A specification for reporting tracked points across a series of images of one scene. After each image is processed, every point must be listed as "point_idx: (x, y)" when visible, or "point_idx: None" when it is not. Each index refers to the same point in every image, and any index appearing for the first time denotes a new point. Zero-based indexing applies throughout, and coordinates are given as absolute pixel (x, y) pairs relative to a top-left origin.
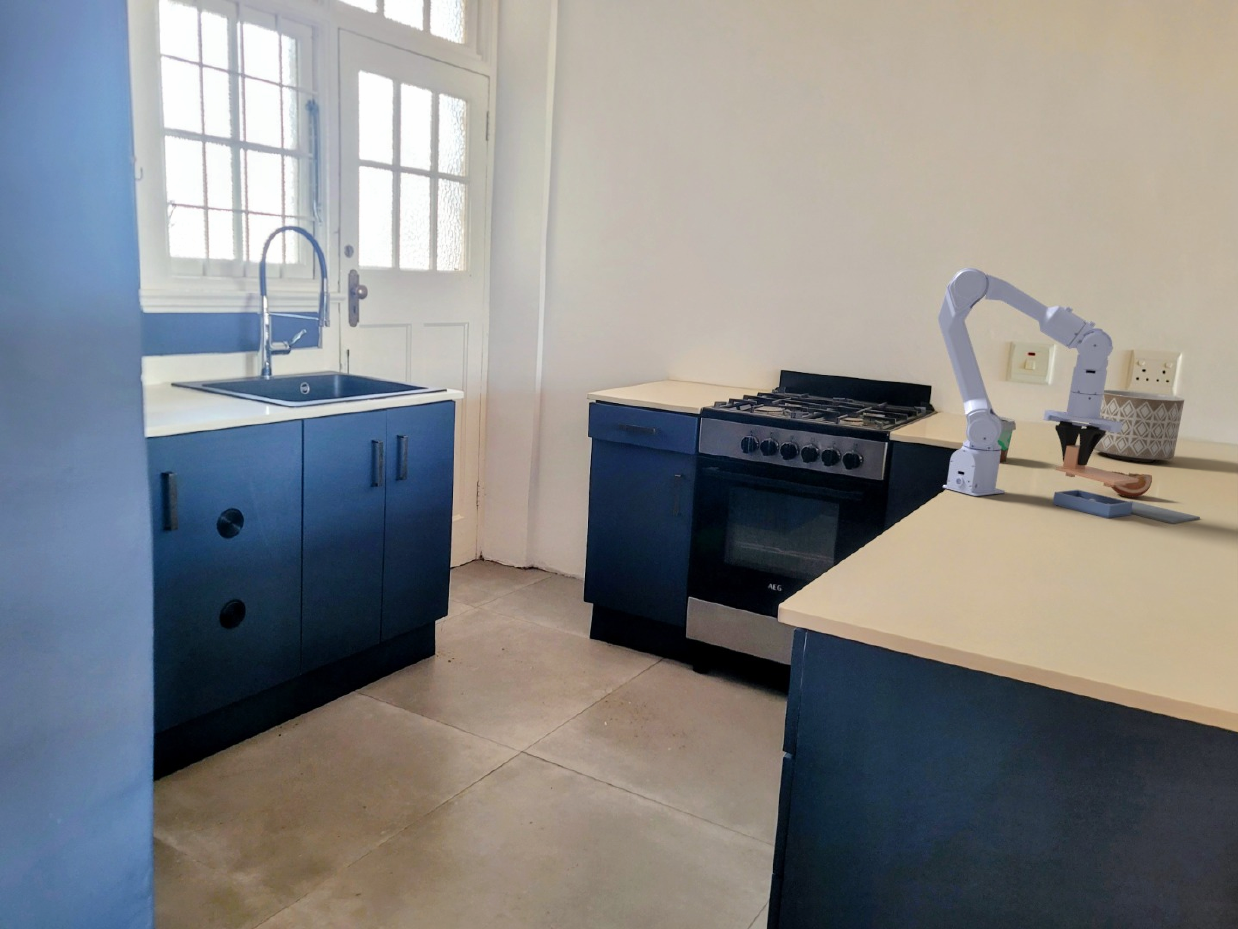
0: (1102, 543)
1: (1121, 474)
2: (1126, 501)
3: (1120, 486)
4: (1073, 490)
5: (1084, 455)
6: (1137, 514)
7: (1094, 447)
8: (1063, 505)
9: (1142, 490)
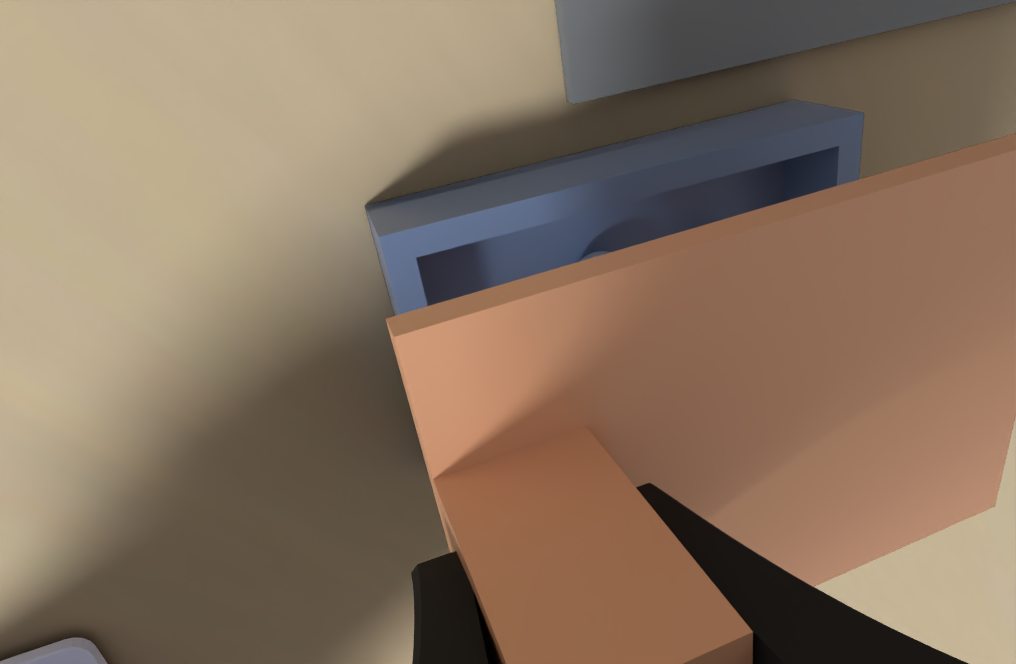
0: (961, 647)
1: (919, 180)
2: (826, 141)
3: None
4: None
5: None
6: (822, 45)
7: (876, 633)
8: None
9: None
